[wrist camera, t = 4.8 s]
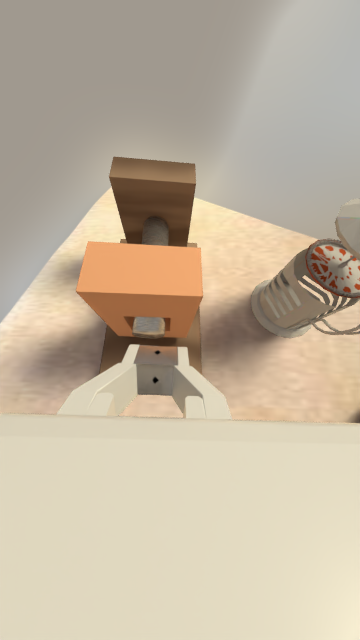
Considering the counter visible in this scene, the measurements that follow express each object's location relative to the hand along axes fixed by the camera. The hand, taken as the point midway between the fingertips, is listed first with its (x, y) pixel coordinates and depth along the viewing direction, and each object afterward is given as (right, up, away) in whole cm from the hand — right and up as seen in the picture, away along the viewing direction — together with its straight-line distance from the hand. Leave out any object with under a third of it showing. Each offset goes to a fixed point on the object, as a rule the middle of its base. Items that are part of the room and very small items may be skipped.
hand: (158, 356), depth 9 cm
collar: (-2, +2, +12) cm, 13 cm away
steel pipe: (-2, +7, +11) cm, 13 cm away
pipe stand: (-2, +4, +16) cm, 17 cm away
